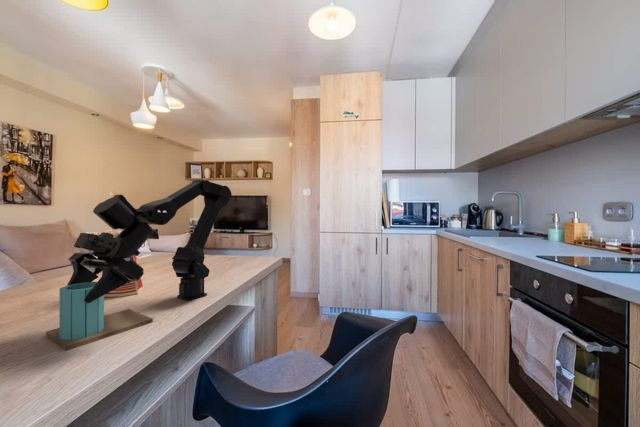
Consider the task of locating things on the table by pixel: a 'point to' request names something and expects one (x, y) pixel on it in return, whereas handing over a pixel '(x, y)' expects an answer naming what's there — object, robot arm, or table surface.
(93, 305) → the teal collar
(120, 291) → the milk carton
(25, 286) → the table surface
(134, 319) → the peg board
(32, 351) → the table surface
